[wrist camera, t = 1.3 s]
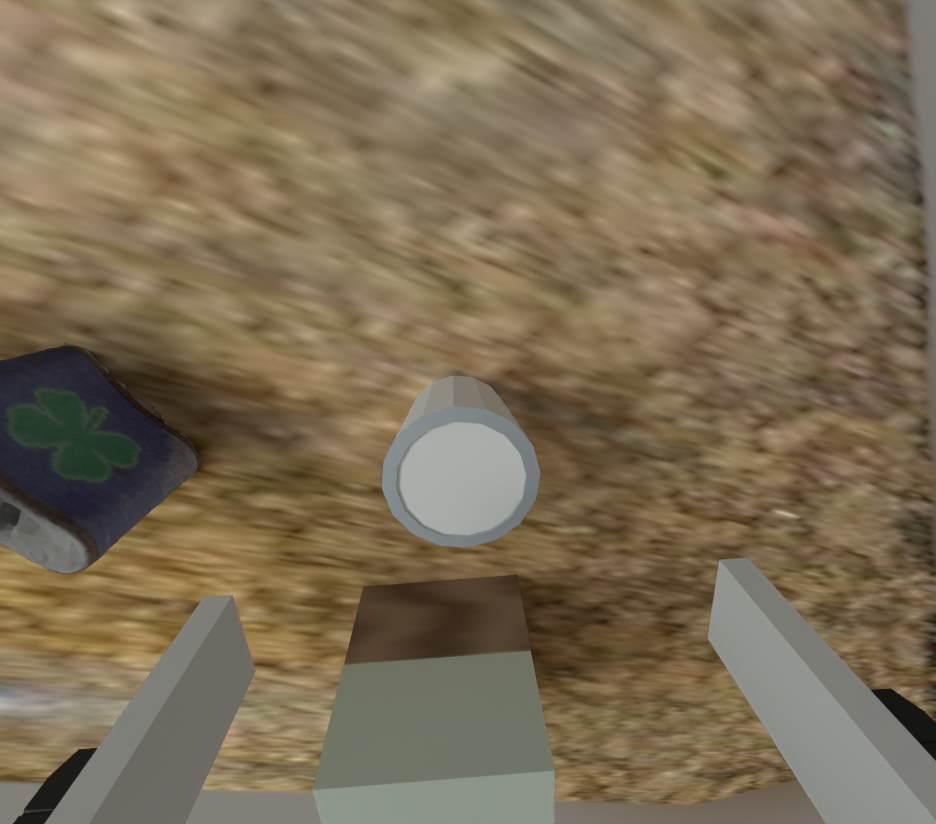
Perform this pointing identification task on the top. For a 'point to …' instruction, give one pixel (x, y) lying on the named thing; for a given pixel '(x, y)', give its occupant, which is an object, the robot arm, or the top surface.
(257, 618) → the top surface
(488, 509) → the white cup
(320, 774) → the sage block
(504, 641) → the walnut block
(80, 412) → the flask
